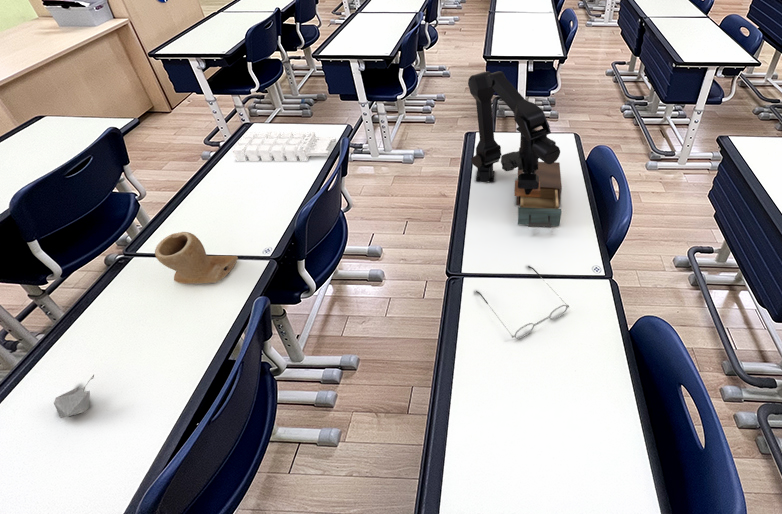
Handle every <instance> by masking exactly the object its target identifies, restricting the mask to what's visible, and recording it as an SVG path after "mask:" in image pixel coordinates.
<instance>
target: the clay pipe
mask: <svg viewBox="0 0 782 514" xmlns="http://www.w3.org/2000/svg"><path fill="white" fill-rule="evenodd" d="M154 256H155V258H156V260H157V261H158V262H159V263H160V264H161V265H163V266H164V267H166V268H168V269H170V270H172V271H175V272H174V275H173V281H174V282H175V283H178V284H185V285H186V284H187V285H188V284H189V285H191V284H214V283H218V282H220V281H221V280H223V279H224V278H225V277H227V276H228V274H229V273H230V272H231V271H232V270H233V269H234V267H235V265H236V264H237V261H238V259H239V257H238V256H237V255H207V253H206V249H205V246H204V244H203V243H202V241H201V240H200V239H199V238H198V237H197V236H196V235H195V234H193V233H192V232H188V231H180V232H175V233H171V234H169V235H167V236H165V237H164V238H163V239H161V240H160V242H159V243H158V244H157V245H156V247H155V249H154Z"/></svg>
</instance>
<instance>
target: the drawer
mask: <svg viewBox="0 0 782 514" xmlns="http://www.w3.org/2000/svg"><path fill="white" fill-rule="evenodd" d="M517 209H518V210H517V225H521V226H522V225H524V226H527V227H528V228H544V229H545V228H546V229H551V228H552V227H560V226H561V220H562V208H560V207H559V203H558V190H557V189H540V197H526V196H521V199H520V205H519V207H518V208H517Z"/></svg>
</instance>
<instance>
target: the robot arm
mask: <svg viewBox="0 0 782 514" xmlns="http://www.w3.org/2000/svg"><path fill="white" fill-rule="evenodd" d="M467 86H468V88H469V93H470V95H471V96H472V97H473V99H474V100H475V105H476V114H477V115H476V116H477V125H478V134H479V136H478V137H479V141H478V143H477V145H476V147H475V155H474V156H472V157H471V158H470V160H471V164H472V165H473V166H474V167H475V168H476V169H477V171H476V176H475V182H478V183H494V182H495V174H496V173H495V170H494V164H496V163H499V162H500V164H501V169H502V170H504V172H511V171H514V170H515V169H517V171H518V170H523V173H521V174H520V175H519V176H518V188H519V189H524V190H525V194H526V195H529V194H530V193H531V191H532V190H533V189H538V188H539V176H538V175H537V174H535V171H536V170H538V162H539V159H540V160H541V162H545V163H547V164H552V163H554V162H557V160H558V159H559V157H560V155H561V149H560V147H559V146H558V145H557V143H556V141H555V140H553V139H551V138H549V137H548V136H549V135H550V134H551V133H552V131H551V128H550V127H551V126H550V124H549V121H548V120H547V116H546V113H545V112H544V110H543V109H542V108H541V107H540V106H539V105H537V104H536V103H534V102H532V101H529V100H526V98H525V97H524V96H523V95H522V94H521V93H520V92H519V91H518V89H516V87H514V85H513V84H512V83H511V82H510V81H509V80H508V79H507V78H506V74H505V73H504V72H503V71H499V70H498V71H495V72H491V71H489V70H486V71H482V72H479V73H476V74H472V75H470V77H469V78H468V81H467ZM495 93H496V94H497V95H498V96H499V98H500V99H501V100H502V101H503V102H504V104H506V105H507V107H508V108H509V109H510V110H511V112H512V113H513V117H514V122H515V124H516V125H517V127H515V130H516V131H517V132H519V133H520V138H519V139H520V140H519V141H520V142H519V143H520V144H519V147H518V150H517V151H511V152H508V153H503V154H502V147H501V145H500V144H499V143H498V142H497V141H496V140H495V133H494V119H493V118H494V117H493V106H492V99H493V97H494V95H495ZM541 127H542V128H541ZM538 128H540V129H538ZM537 129H538V130H537Z"/></svg>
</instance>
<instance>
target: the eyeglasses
mask: <svg viewBox="0 0 782 514" xmlns="http://www.w3.org/2000/svg"><path fill="white" fill-rule="evenodd" d="M527 267H528V269H532V270H533V271H534V272H535V273H536V275H537V276H538V277H539V278H541V279H542V280H544V278H543V277H542V275H540V274H539V273H538V271H537V270H536V269H535V268H534V267H532V266H530V265H528V266H527ZM547 286H548V287H549V288H550V289H551V290H552V291H553V292H554V293H555V294H556V295H558V293H557V292H556V291H555V290H554V289H553V288H552V287H551V286H550V285H549V284H547ZM475 291H476V293H477V294H479V296H481V298H482V299H483V301H484V302H485V303H486V305H488V306H489V308H490V309H491V310H492V312H493V313H494V314H495V315H496V317H497V318H498V320H499V321H500V322H501V324H502V325H503V326H504V328H505V329H506V331H508V333H509V335H510V336H511V338H512V339H514V338H515V339H516V340H519V339H522V338H524V337H526V336H528V335H529V334H530V333H532V331H533V330H534V328H535V327H536V326H538V325H540V324H542V323H543V322H545V321H547V320H549V319H550V320H551V321H552V320H556V319H558V318H560V317H561V316H563V315H564V314H565V313H566V312H567V311H568V309H569V308H570V305H569V304H567V303H566V302H565V301H564V300H563V299H562V298H560V300H561V301H562V302H563V303H565V304H561V305H559V306H557V307H556V308H554V309H553V310H552V311H551V312H550V313H549V315H548V316H547V317H544V318H543V319H541V320H539V321H537V322H536V323H533V322H529V323H526V324H524V325H522V326H521V327H520V328H518V329H517V330H516V331H515V333H514V334H512V333H511V332H510V331H509V329H508V328H507V326H505V323H504V322H503V321H502V320H501V319H500V317H499V316H498V314H496V312H495V311H494V310H493V308H492V307H491V306H490V305H489V302H488V301H487V299H485V297H484V296H483V295H482V293H481V292H479V291H477V290H475ZM563 307H565V309H564V310H563V311H562V313H560V314H559V315H557V316H554V317H552V315H553V314H554V312H556V311H557V310H559V309H561V308H563ZM531 325H532V327H531V329H530V330H529V331H527V332H526V333H525V334H522V335H521V336H517V334H518V333H519V332H520V331H521V330H522V329H524V328H526V327H528V326H531Z"/></svg>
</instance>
